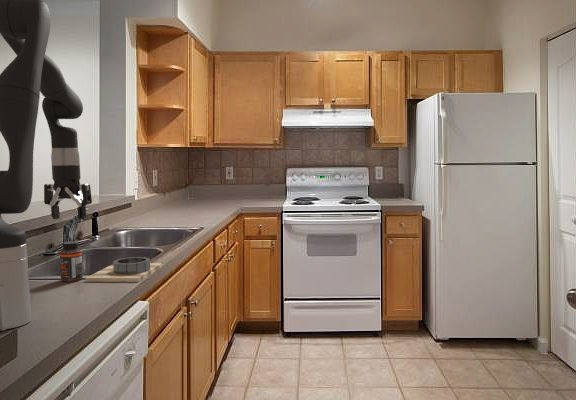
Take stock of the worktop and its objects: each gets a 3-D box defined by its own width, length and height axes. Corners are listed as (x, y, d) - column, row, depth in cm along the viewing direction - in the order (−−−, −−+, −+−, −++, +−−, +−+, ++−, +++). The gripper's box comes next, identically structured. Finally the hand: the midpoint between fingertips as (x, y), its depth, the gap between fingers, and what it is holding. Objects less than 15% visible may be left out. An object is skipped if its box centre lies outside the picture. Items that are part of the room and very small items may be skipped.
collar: (139, 274, 149) (138, 264, 148) (106, 273, 151) (106, 263, 151) (156, 266, 159) (156, 257, 159) (126, 265, 162) (125, 256, 161)
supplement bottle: (56, 281, 147) (54, 243, 146) (73, 276, 153) (71, 240, 152) (70, 283, 145) (68, 244, 144) (87, 278, 150) (85, 241, 149)
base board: (139, 281, 145) (138, 277, 145) (85, 281, 146) (85, 277, 146) (161, 266, 165) (161, 263, 165) (114, 266, 166) (114, 263, 166)
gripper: (35, 164, 144) (39, 220, 145) (79, 163, 140) (82, 221, 142) (53, 164, 151) (56, 217, 152) (95, 163, 148) (98, 217, 149)
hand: (68, 219), depth 147 cm, fingers open, 8 cm apart
